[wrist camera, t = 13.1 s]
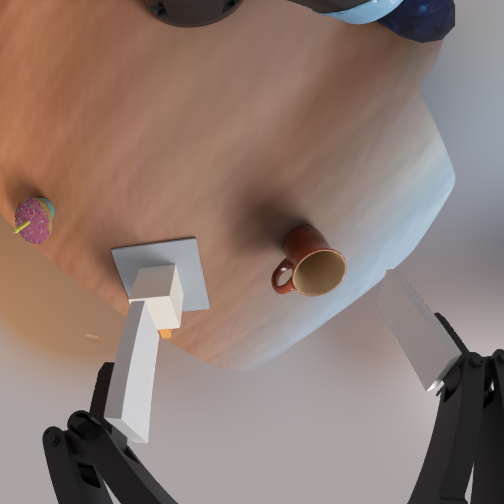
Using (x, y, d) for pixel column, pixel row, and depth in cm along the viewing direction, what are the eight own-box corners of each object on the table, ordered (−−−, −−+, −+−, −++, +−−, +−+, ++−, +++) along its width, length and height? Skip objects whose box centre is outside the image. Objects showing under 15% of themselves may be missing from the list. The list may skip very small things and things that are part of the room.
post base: (111, 248, 45) (101, 267, 40) (196, 237, 46) (194, 256, 41) (136, 313, 53) (131, 334, 48) (210, 307, 54) (210, 328, 49)
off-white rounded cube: (139, 268, 47) (128, 299, 39) (175, 264, 48) (169, 295, 40) (154, 311, 52) (147, 343, 45) (187, 308, 53) (184, 341, 45)
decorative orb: (363, 37, 27) (463, 38, 17) (339, -41, 19) (432, -51, 9) (392, 48, 34) (466, 52, 24) (374, -17, 26) (446, -19, 16)
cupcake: (37, 179, 36) (-2, 206, 25) (69, 204, 39) (35, 237, 29) (24, 215, 38) (-10, 246, 28) (54, 239, 42) (24, 275, 32)
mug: (313, 210, 46) (335, 238, 37) (331, 246, 51) (353, 278, 42) (253, 244, 48) (262, 280, 40) (276, 277, 53) (288, 314, 44)
